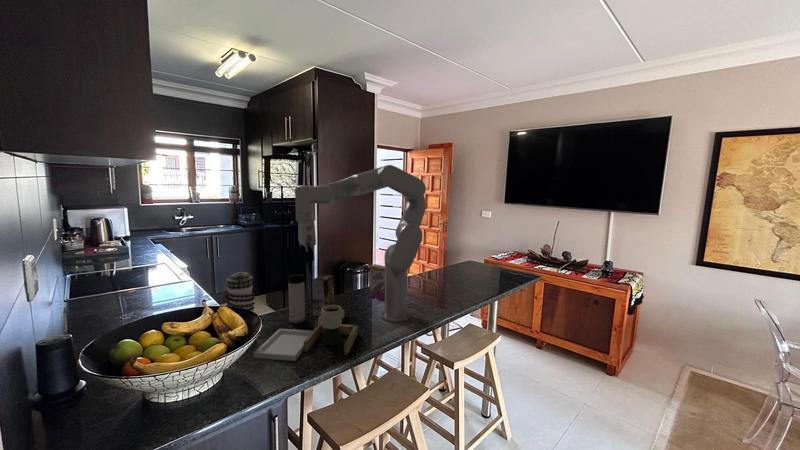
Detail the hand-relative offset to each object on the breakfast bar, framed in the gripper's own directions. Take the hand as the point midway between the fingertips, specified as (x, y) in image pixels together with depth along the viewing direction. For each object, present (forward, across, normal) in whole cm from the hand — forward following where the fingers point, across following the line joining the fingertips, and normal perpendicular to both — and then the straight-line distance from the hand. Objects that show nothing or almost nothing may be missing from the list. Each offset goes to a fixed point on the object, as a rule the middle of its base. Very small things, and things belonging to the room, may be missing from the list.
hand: (306, 258), depth 131 cm
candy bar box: (+27, +12, -39) cm, 49 cm away
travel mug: (+27, +3, +4) cm, 27 cm away
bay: (+27, -22, -3) cm, 35 cm away
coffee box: (+27, +7, -9) cm, 29 cm away
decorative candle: (+27, -6, +25) cm, 37 cm away
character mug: (+27, -22, -3) cm, 35 cm away
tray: (+26, -17, +12) cm, 34 cm away
